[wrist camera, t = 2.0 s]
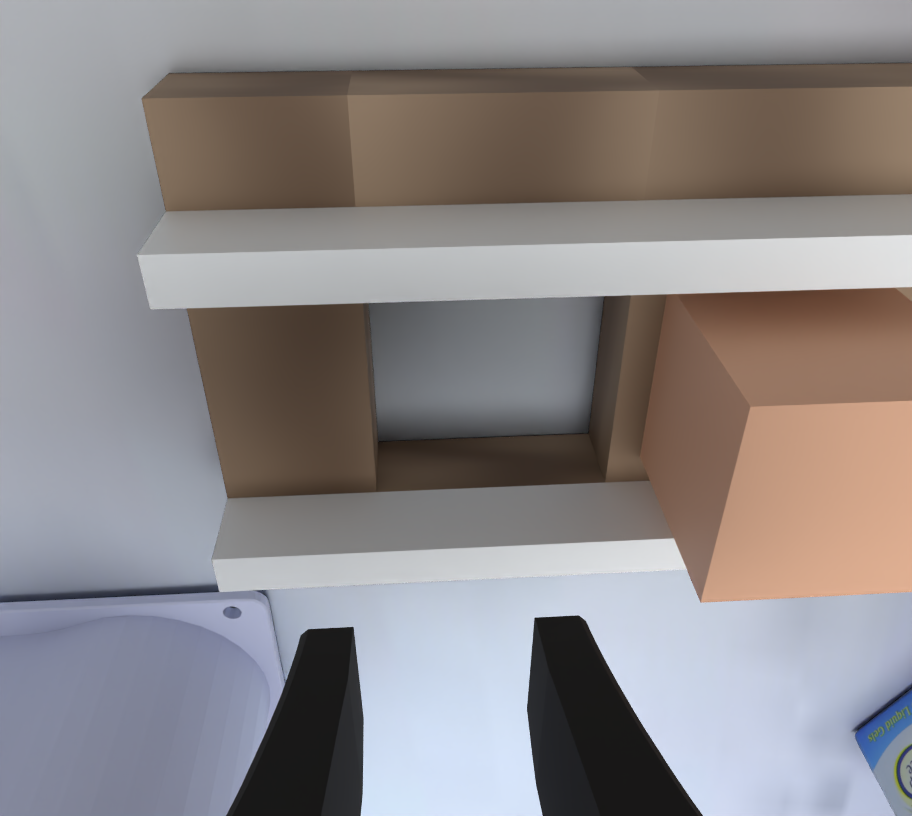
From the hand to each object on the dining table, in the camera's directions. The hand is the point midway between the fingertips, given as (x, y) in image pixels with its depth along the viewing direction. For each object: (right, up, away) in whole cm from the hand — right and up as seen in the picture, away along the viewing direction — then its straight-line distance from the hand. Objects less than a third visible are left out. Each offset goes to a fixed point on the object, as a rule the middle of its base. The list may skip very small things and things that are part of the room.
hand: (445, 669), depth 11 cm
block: (+7, +4, +6) cm, 10 cm away
